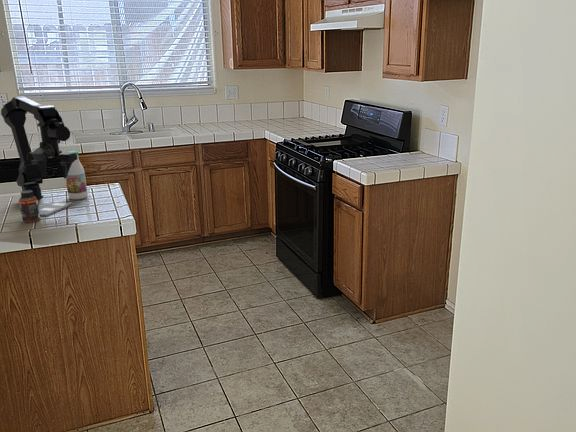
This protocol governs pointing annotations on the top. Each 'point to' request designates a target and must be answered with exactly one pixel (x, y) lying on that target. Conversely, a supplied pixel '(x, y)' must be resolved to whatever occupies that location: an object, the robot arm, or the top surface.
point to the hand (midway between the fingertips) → (55, 177)
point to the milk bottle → (76, 180)
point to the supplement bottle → (29, 207)
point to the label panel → (52, 208)
